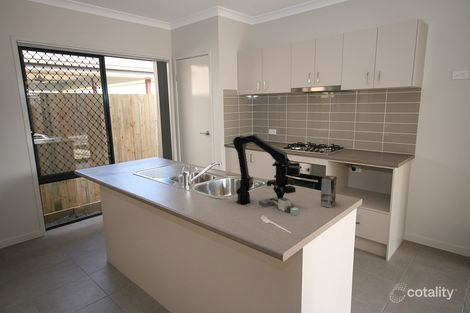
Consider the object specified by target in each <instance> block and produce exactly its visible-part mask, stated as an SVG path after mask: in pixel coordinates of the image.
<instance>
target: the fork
mask: <svg viewBox="0 0 470 313" xmlns="http://www.w3.org/2000/svg"><path fill="white" fill-rule="evenodd" d="M259 217H260V218H261V220H262V221H263V222H264V223H267V224H272V225H273V226H275V227H277V228H279V229H282V230H283V231H286V232H287V233H289V234H291V231H290V230H287V229H286V228H284V227H283V226H280V225H279V224H277V223H275V222H273V221H272V220H269V218H268V217H266V216H265V215H261V216H259Z"/></svg>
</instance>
